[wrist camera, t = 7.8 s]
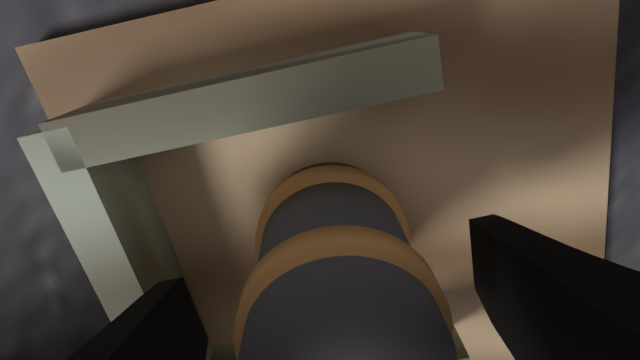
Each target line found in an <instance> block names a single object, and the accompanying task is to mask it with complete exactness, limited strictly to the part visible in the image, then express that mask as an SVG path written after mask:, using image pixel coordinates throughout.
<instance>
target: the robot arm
mask: <svg viewBox="0 0 640 360" xmlns="http://www.w3.org/2000/svg"><path fill="white" fill-rule="evenodd" d="M469 229H470V241H471V253H472V265H473V277H474V288H475V290H476V292H477V294H478V296H479V299H480V301H481V303H482V305H483V307H484V309H485V311H486V313H487V315H488V317H489V319H490V321H491V323H492V325H493V326H494V328H495V329H496V331H497V333H498V334H499V336H500V337H501V339H502V340H503V342H504V343H505V345H506V346H507V348H508V350H509V351H510V353H511V354H512V356H513V357H514V359H515V360H640V272H639V271H636V270H633V269H630V268H627V267H624V266H621V265H619V264H616V263H613V262H611V261H608V260H605V259H602V258H600V257H597V256H594V255H592V254H589V253H586V252H584V251H581V250H579V249H576V248H574V247H571V246H569V245H566V244H564V243H562V242H559V241H557V240H555V239H552V238H550V237H548V236H545V235H543V234H541V233H538V232H536V231H534V230H531V229H529V228H527V227H525V226H522V225H520V224H518V223H515V222H513V221H511V220H508V219H506V218H503V217H501V216H498V215H495V214H492V215H487V216H482V217H477V218H472V219H469ZM207 347H208V337H207V334H206V332H205V329H204V327H203V325H202V322H201V320H200V317H199V315H198V312H197V310H196V307H195V305H194V302H193V300H192V297H191V295H190V293H189V290H188V288H187V285H186V283H185V280H184V278H183V277H179V278H175V279H170V280H165V281H160V282H158V283H157V284H156V285H154V286H153V287H152V288H150V289H149V290H148V291H147V292H145V293H144V294H143V295H142V296H140V297H139V298H138V299H137V300H136V301H135V302H133V303H132V304H131V305H130V306H129V307H128V308H127V309H125V310H124V311H123V312H122V313H121V314H120V315H119V316H117V317H116V318H115V319H114V320H113V321H112V322H111V323H109V324H108V325H107V326H106V327H105V328H104V329H102V330H101V331H100V332H99V333H98V334H97V335H96V336H94V337H93V338H92V339H91V340H90V341H89V342H87V343H86V344H85V345H84V346H83V347H81V348H80V349H79V350H78V351H76V352H75V353H74V354H73V355H72V356H70V357H69V358H68V359H67V360H206V354H207Z"/></svg>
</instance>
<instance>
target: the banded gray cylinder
mask: <svg viewBox="0 0 640 360" xmlns="http://www.w3.org/2000/svg"><path fill="white" fill-rule="evenodd" d="M255 253H256V259H257V264H256V266H255V267H254V269H253V270H252V271H251V273H250V274H249V276H248V278H247V281H246V283H245V285H244V288H243V291H242V294H241V298H240V302H239V306H238V311H237V315H236V319H235V324H234V331H233V343H234V350H235V355H236V358H237V360H457V354H456V347H455V344H454V340H453V321H452V314H451V310H450V307H449V304H448V302H447V299H446V297H445V295H444V293H443V291H442V289H441V287H440V285H439V283H438V281H437V279H436V277H435V275H434V273H433V271H432V269H431V268H430V266H429V265H428V264H427V262H426V261H425V259H424V258H423V257H422V256H421V255H420V254H419V253H418V252H417V251H416V250H415V249H413V248H412V247H411V246H410V233H409V227H408V224H407V221H406V218H405V216H404V214H403V212H402V210H401V208H400V206H399V204H398V202H397V200H396V198H395V197H394V195H393V194H392V192H391V191H390V190H389V189H388V188H387V187H386V185H385V184H383V183H382V182H381V181H380V180H379V179H377V178H376V177H374V176H372V175H371V174H369V173H367V172H365V171H363V170H361V169H359V168H357V167H355V166H351V165H348V164H343V163H333V162H328V163H319V164H314V165H311V166H308V167H305V168H303V169H301V170H299V171H297V172H295V173H294V174H292V175H291V176H289V177H288V178H287V179H286V180H285V181H284V182H282V183H281V184H280V185H279V186H278V187H277V188H276V189H275V190H274V191H273V192H272V193H271V195H270V196H269V198H268V199H267V201H266V202H265V205H264V207H263V209H262V211H261V215H260V218H259V222H258V226H257V230H256V236H255Z"/></svg>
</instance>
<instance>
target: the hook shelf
mask: <svg viewBox="0 0 640 360" xmlns="http://www.w3.org/2000/svg"><path fill="white" fill-rule="evenodd" d="M619 1H620V0H216V1H212V2H208V3H203V4H199V5H195V6H191V7H186V8H182V9H178V10H174V11H169V12H165V13H161V14H157V15H152V16H148V17H144V18H140V19H135V20H131V21H127V22H122V23H118V24H114V25H110V26H105V27H101V28H97V29H93V30H88V31H84V32H80V33H76V34H71V35H67V36H63V37H59V38H54V39H50V40H46V41H42V42H37V43H33V44H29V45H24V46H20V47H16V48H15V49H16V52H17V54H18V56H19V58H20V60H21V62H22V64H23V66H24V69H25V71H26V73H27V75H28V77H29V79H30V81H31V83H32V85H33V88H34V90H35V92H36V94H37V96H38V98H39V100H40V102H41V104H42V107H43V109H44V111H45V113H46V115H47V117H48V119H49V120H47V121H44V122H42V123H39V124H38V125H39V128H40V129H38V130H36V131H33V132H31V133H28V134H26V135H23V136H21V137H18V138H17V140H18V142H19V144H20V145H21V147H22V149H23V151H24V153H25V155H26V157H27V159H28V161H29V163H30V165H31V167H32V169H33V171H34V173H35V175H36V177H37V179H38V181H39V183H40V185H41V187H42V188H43V190H44V192H45V194H46V196H47V198H48V200H49V202H50V204H51V206H52V208H53V210H54V212H55V214H56V216H57V218H58V220H59V222H60V224H61V226H62V228H63V230H64V231H65V233H66V235H67V237H68V239H69V241H70V243H71V245H72V247H73V249H74V251H75V253H76V255H77V257H78V259H79V261H80V263H81V265H82V267H83V269H84V271H85V273H86V274H87V276H88V278H89V280H90V282H91V284H92V286H93V288H94V290H95V292H96V294H97V296H98V298H99V300H100V302H101V304H102V306H103V308H104V310H105V312H106V314H107V316H108V317H109V319H110V321H111V322H112V321H113V320H114V319H115V318H116V317H117V316H119V315H120V314H121V313H122V312H123V311H124V310H125V309H127V308H128V307H129V306H130V305H131V304H132V303H133V302H135V301H136V300H137V299H138V298H139V297H140V296H142V295H143V294H144V293H145V292H147V291H148V290H149V289H150V288H152V287H153V286H154V285H156V284H157V283H158V282H160V281H165V280H170V279H175V278H179V277H183V278H184V280H185V283H186V285H187V288H188V290H189V293H190V295H191V297H192V300H193V302H194V305H195V307H196V310H197V312H198V315H199V317H200V320H201V322H202V325H203V327H204V329H205V332H206V334H207V337H208V347H207V354H206V360H237V358H236V355H235V350H234V343H233V331H234V324H235V319H236V315H237V311H238V306H239V302H240V298H241V294H242V291H243V288H244V285H245V283H246V281H247V278H248V276H249V274H250V273H251V271H252V270H253V269H254V267H255V266H256V264H257V259H256V253H255V236H256V230H257V226H258V222H259V218H260V215H261V211H262V209H263V207H264V205H265V202H266V201H267V199H268V198H269V196H270V195H271V193H272V192H273V191H274V190H275V189H276V188H277V187H278V186H279V185H280V184H281V183H282V182H284V181H285V180H286V179H287V178H288V177H289V176H291V175H292V174H294V173H295V172H297V171H299V170H301V169H303V168H305V167H308V166H311V165H314V164H319V163H328V162H333V163H343V164H348V165H351V166H355V167H357V168H359V169H361V170H363V171H365V172H367V173H369V174H371V175H372V176H374V177H376V178H377V179H379V180H380V181H381V182H382V183H383V184H385V185H386V187H387V188H388V189H389V190H390V191H391V192H392V194H393V195H394V197H395V198H396V200H397V202H398V204H399V206H400V208H401V210H402V212H403V214H404V216H405V218H406V221H407V224H408V227H409V233H410V246H411V247H412V248H413V249H415V250H416V251H417V252H418V253H419V254H420V255H421V256H422V257H423V258H424V259H425V261H426V262H427V264H428V265H429V266H430V268H431V269H432V271H433V273H434V275H435V277H436V279H437V281H438V283H439V285H440V287H441V289H442V291H443V293H444V295H445V297H446V299H447V302H448V304H449V307H450V310H451V314H452V321H453V340H454V344H455V347H456V354H457V360H515V359H514V357H513V356H512V354H511V353H510V351H509V350H508V348H507V346H506V345H505V343H504V342H503V340H502V339H501V337H500V336H499V334H498V333H497V331H496V329H495V328H494V326H493V325H492V323H491V321H490V319H489V317H488V315H487V313H486V311H485V309H484V307H483V305H482V303H481V301H480V299H479V296H478V294H477V292H476V290H475V288H474V277H473V265H472V253H471V241H470V229H469V219H472V218H477V217H482V216H487V215H492V214H495V215H498V216H501V217H503V218H506V219H508V220H511V221H513V222H515V223H518V224H520V225H522V226H525V227H527V228H529V229H531V230H534V231H536V232H538V233H541V234H543V235H545V236H548V237H550V238H552V239H555V240H557V241H559V242H562V243H564V244H566V245H569V246H571V247H574V248H576V249H579V250H581V251H584V252H586V253H589V254H592V255H594V256H597V257H600V258H602V259H604V254H605V237H606V221H607V204H608V187H609V170H610V153H611V136H612V119H613V102H614V85H615V68H616V51H617V34H618V17H619Z"/></svg>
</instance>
